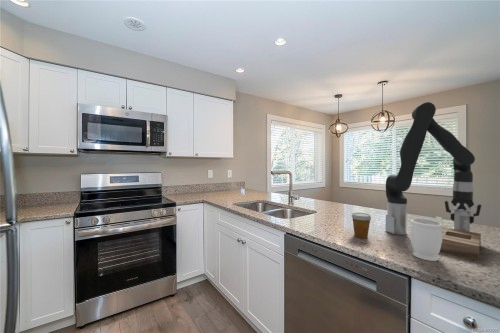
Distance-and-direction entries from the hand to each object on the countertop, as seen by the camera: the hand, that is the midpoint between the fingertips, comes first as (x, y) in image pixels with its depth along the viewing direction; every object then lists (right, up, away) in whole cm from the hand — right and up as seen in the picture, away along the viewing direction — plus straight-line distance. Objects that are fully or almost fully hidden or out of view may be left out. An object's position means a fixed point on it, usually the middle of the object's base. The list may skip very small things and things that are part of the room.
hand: (461, 221), depth 113 cm
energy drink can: (0, -9, 0) cm, 9 cm away
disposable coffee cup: (-52, -9, +3) cm, 53 cm away
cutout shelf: (-14, -9, -12) cm, 21 cm away
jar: (-38, -9, -22) cm, 45 cm away
